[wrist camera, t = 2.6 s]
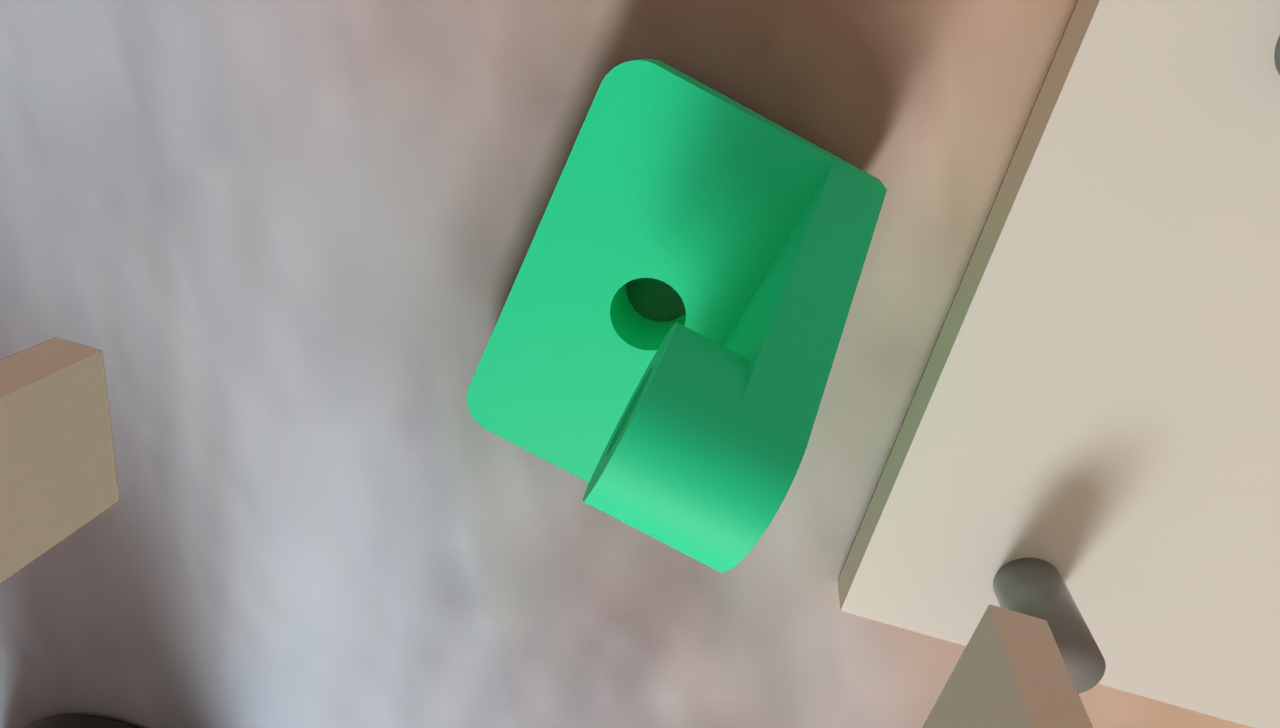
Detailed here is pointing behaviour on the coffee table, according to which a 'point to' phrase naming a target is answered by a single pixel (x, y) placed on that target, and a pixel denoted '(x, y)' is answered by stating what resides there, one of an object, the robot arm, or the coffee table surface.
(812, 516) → the coffee table surface
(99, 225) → the coffee table surface
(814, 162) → the camera mount
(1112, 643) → the stub plate
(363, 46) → the coffee table surface
